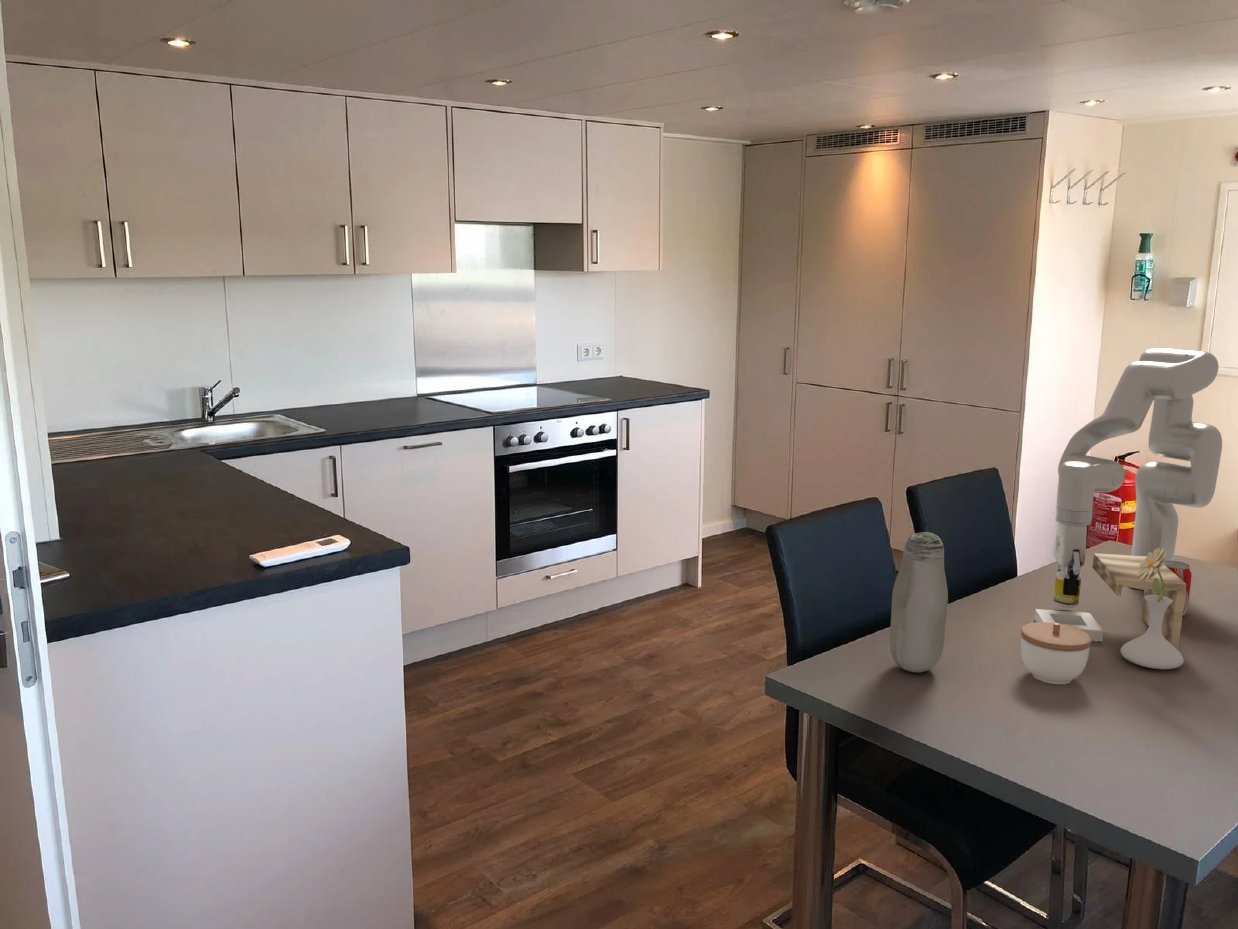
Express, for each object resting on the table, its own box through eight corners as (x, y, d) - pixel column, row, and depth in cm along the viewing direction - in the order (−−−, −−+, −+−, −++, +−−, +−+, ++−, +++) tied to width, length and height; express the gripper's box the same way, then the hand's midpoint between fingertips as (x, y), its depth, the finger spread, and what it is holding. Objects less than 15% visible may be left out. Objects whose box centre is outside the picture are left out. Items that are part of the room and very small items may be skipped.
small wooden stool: (1087, 614, 228) (1093, 553, 225) (1148, 618, 226) (1155, 557, 223) (1111, 646, 209) (1118, 579, 206) (1177, 651, 206) (1186, 584, 204)
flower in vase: (1124, 648, 208) (1137, 534, 203) (1185, 661, 201) (1201, 543, 196) (1113, 668, 197) (1127, 548, 193) (1178, 682, 191) (1193, 558, 186)
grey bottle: (928, 684, 189) (938, 543, 184) (879, 669, 196) (888, 533, 191) (950, 669, 196) (960, 533, 191) (902, 655, 203) (911, 524, 198)
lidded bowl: (1033, 659, 202) (1038, 608, 200) (1097, 677, 193) (1103, 624, 191) (1006, 676, 193) (1010, 623, 191) (1071, 696, 184) (1077, 640, 182)
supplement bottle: (1076, 609, 227) (1080, 569, 225) (1051, 605, 229) (1055, 565, 227) (1080, 602, 231) (1083, 562, 229) (1055, 598, 234) (1058, 559, 232)
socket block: (1034, 619, 225) (1035, 609, 224) (1088, 623, 222) (1089, 612, 222) (1045, 637, 214) (1046, 626, 213) (1102, 641, 211) (1103, 630, 211)
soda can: (1193, 619, 226) (1199, 569, 223) (1161, 618, 226) (1168, 568, 224) (1176, 608, 233) (1182, 559, 230) (1146, 608, 233) (1152, 559, 230)
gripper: (1048, 505, 235) (1042, 578, 239) (1064, 524, 218) (1058, 602, 222) (1081, 506, 233) (1075, 579, 237) (1101, 526, 217) (1093, 604, 221)
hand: (1067, 589), depth 230 cm, fingers closed on supplement bottle, 5 cm apart
